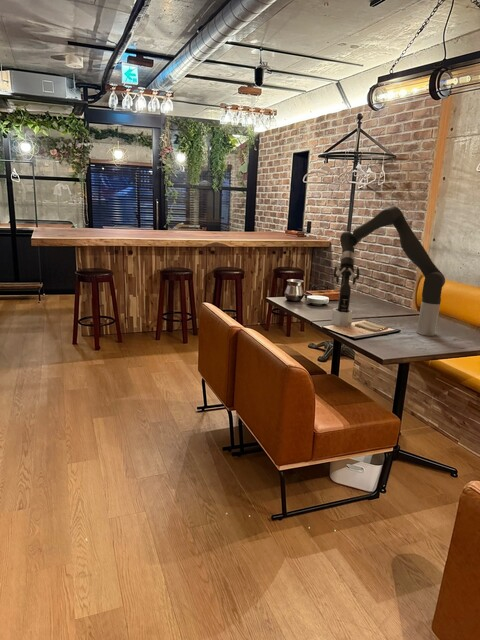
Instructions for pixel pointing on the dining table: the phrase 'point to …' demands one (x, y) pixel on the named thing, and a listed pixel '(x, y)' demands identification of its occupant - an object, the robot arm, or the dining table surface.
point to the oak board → (371, 325)
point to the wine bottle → (345, 294)
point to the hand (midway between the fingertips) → (345, 283)
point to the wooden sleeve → (341, 318)
